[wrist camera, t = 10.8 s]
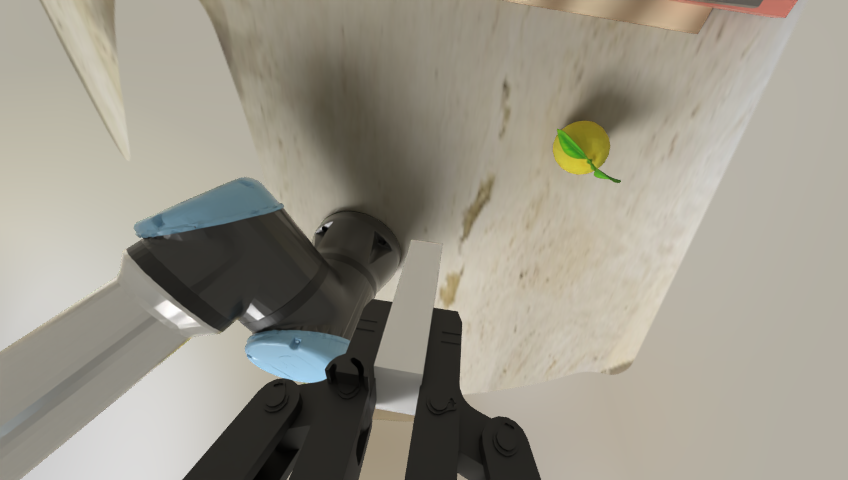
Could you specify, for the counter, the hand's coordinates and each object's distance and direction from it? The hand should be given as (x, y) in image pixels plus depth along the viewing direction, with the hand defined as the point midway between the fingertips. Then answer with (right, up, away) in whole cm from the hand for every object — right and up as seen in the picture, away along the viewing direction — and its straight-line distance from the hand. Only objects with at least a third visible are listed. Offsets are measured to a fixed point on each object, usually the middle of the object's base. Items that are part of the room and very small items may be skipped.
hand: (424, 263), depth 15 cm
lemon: (+18, +14, +22) cm, 32 cm away
